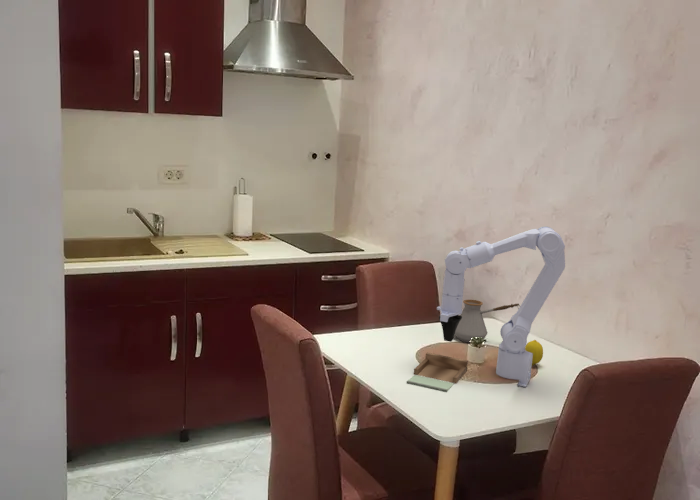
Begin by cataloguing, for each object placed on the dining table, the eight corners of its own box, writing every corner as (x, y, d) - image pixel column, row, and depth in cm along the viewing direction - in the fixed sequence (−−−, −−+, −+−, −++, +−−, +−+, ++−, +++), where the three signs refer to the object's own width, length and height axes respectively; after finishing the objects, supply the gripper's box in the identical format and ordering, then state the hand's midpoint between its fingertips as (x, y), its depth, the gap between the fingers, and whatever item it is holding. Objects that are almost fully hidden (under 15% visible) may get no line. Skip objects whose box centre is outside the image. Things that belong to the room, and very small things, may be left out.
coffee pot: (447, 339, 219) (451, 295, 216) (458, 331, 229) (462, 289, 226) (511, 353, 209) (516, 307, 206) (519, 344, 219) (524, 300, 216)
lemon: (542, 369, 196) (545, 343, 195) (523, 367, 197) (526, 341, 196) (540, 363, 201) (543, 338, 200) (522, 361, 202) (525, 336, 201)
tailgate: (454, 383, 176) (447, 390, 170) (453, 387, 176) (446, 394, 170) (415, 374, 180) (406, 381, 174) (414, 379, 181) (406, 385, 174)
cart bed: (466, 375, 187) (467, 360, 186) (455, 388, 176) (457, 372, 176) (425, 367, 191) (427, 352, 191) (413, 379, 181) (414, 363, 180)
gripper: (446, 286, 192) (441, 331, 195) (431, 296, 179) (426, 344, 182) (469, 290, 190) (465, 335, 192) (456, 301, 177) (451, 349, 179)
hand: (448, 340), depth 187 cm, fingers closed
